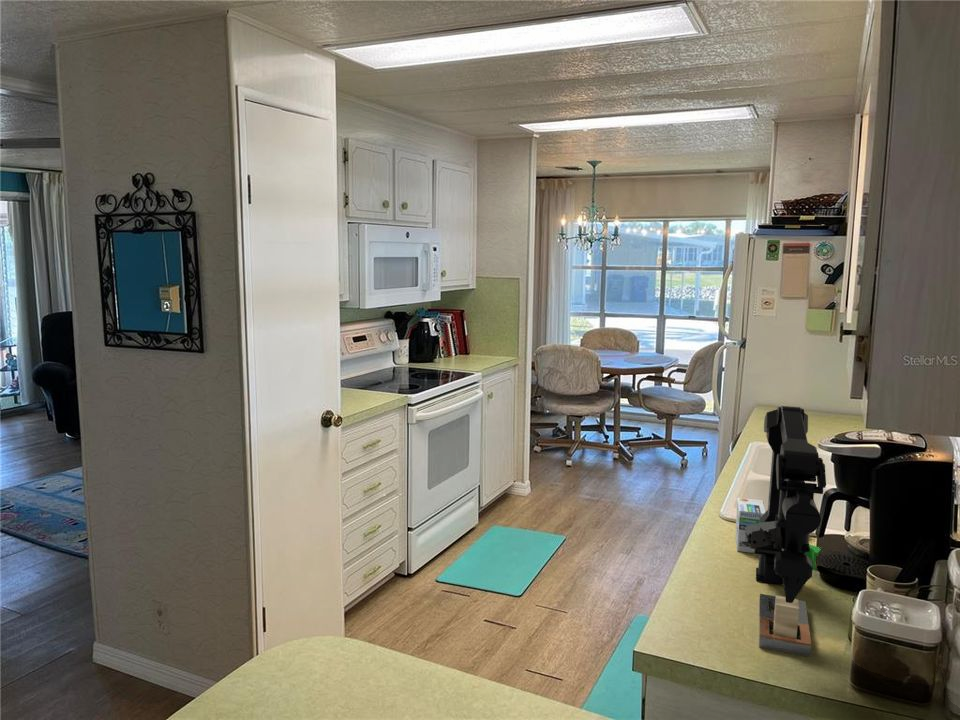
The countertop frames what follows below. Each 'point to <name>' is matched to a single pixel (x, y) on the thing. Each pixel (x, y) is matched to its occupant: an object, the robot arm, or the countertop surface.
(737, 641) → the countertop surface
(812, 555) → the pipe clamp
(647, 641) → the countertop surface
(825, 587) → the countertop surface
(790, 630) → the beech peg
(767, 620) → the grey board
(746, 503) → the light bulb box
